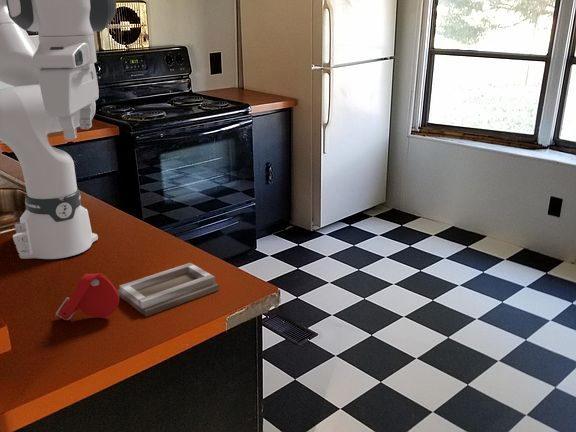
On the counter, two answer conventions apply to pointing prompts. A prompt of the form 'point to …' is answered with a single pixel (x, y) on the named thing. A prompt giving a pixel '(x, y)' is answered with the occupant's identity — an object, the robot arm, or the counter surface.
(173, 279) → the grey rectangular tray
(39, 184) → the robot arm
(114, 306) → the tracker holder
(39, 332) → the counter surface
